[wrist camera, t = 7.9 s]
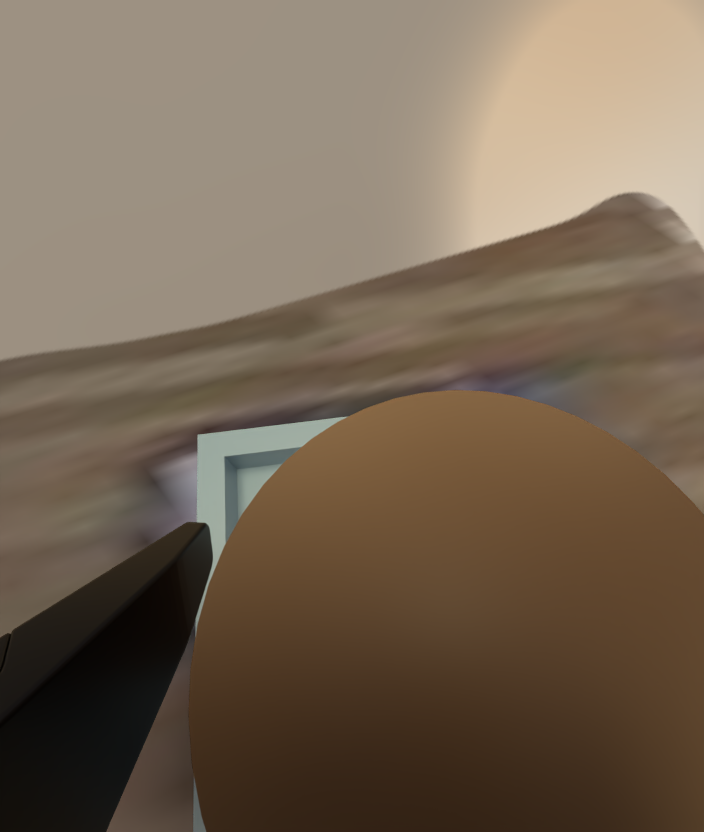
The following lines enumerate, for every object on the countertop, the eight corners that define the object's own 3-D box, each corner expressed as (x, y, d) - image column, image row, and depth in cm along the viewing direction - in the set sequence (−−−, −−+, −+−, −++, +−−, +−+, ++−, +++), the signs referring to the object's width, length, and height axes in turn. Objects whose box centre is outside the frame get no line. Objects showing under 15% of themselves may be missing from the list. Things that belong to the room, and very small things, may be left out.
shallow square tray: (557, 785, 16) (640, 864, 12) (242, 835, 16) (191, 939, 11) (471, 441, 22) (504, 397, 17) (233, 470, 21) (197, 434, 16)
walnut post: (472, 651, 15) (958, 850, 3) (342, 721, 14) (337, 1362, 2) (407, 519, 17) (563, 327, 5) (288, 575, 16) (125, 506, 4)
